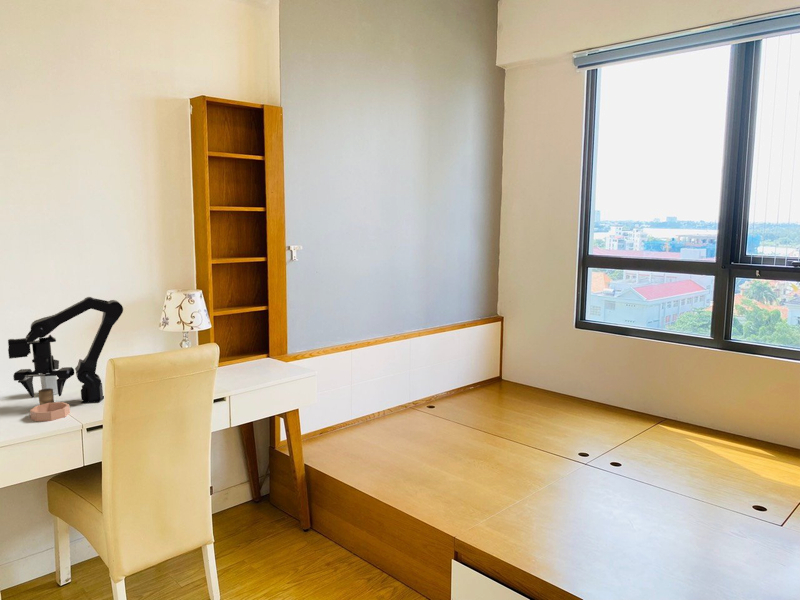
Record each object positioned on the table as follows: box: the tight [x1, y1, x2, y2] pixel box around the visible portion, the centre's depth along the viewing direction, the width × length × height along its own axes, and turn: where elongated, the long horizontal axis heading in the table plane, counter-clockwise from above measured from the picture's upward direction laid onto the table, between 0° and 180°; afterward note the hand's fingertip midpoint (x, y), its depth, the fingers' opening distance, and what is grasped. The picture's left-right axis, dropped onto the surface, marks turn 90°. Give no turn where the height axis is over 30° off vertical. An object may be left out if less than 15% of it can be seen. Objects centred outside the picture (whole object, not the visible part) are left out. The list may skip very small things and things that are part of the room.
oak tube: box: [37, 388, 55, 405], centre depth 229 cm, size 5×5×7 cm
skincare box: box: [39, 369, 58, 396], centre depth 246 cm, size 6×4×12 cm
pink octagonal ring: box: [29, 401, 71, 422], centre depth 220 cm, size 11×11×3 cm
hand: (46, 396), depth 229 cm, fingers open, 9 cm apart
